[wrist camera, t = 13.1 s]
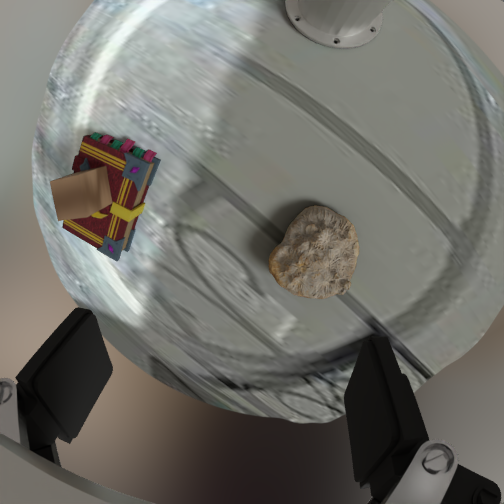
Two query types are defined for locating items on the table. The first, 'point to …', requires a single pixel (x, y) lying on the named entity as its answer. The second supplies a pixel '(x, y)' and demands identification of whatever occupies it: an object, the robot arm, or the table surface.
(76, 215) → the walnut block
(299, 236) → the fossil
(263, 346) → the table surface
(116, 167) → the decorative book
